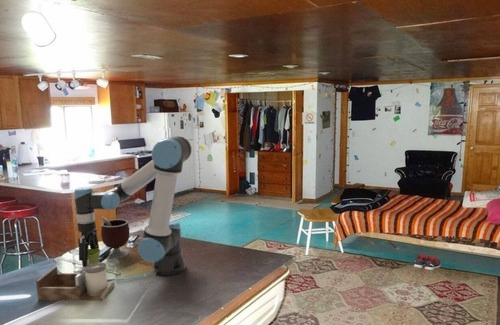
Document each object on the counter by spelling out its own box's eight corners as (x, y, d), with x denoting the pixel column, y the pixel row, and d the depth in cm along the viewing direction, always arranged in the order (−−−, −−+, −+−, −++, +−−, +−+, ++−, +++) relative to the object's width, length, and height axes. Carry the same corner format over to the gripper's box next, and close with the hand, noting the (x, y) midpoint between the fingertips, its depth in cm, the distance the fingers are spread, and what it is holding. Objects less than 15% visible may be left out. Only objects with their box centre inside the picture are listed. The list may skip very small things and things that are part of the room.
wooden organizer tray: (115, 286, 172) (114, 267, 170) (102, 302, 158) (100, 281, 157) (56, 286, 173) (54, 266, 172) (38, 302, 159) (36, 280, 158)
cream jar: (110, 287, 169) (109, 262, 168) (103, 296, 161) (101, 270, 160) (91, 287, 170) (89, 262, 168) (83, 296, 161) (81, 270, 160)
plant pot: (94, 274, 177) (92, 256, 176) (75, 273, 179) (74, 255, 178) (106, 266, 186) (104, 248, 185) (88, 265, 188) (86, 248, 187)
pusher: (91, 285, 171) (90, 263, 169) (79, 297, 159) (77, 274, 158) (83, 284, 171) (82, 263, 169) (70, 297, 160) (68, 274, 158)
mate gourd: (135, 251, 213) (133, 215, 210) (119, 260, 200) (117, 222, 197) (111, 248, 218) (109, 212, 215) (94, 257, 205) (91, 219, 202)
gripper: (88, 215, 190) (92, 260, 193) (66, 229, 169) (72, 279, 173) (103, 214, 190) (108, 260, 193) (83, 228, 169) (89, 279, 172)
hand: (91, 269), depth 183 cm, fingers closed on plant pot, 8 cm apart
